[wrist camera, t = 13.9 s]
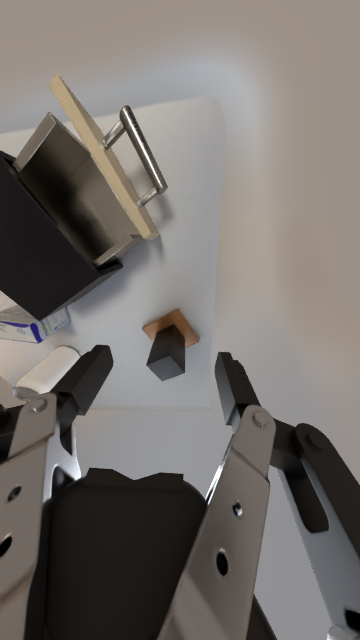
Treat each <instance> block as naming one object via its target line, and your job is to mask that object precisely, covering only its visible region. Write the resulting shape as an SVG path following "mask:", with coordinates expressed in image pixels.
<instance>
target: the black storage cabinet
mask: <svg viewBox="0 0 360 640" xmlns="http://www.w3.org/2000/svg"><path fill="white" fill-rule="evenodd" d="M15 160H16V158H15V157H13V156H11V155H9V154H7V153H5V152H3V151H0V290H1V291H2V292H3V293H4V294H6V295H7V296H8V297H9V298H11V299H12V300H13V301H14V302H16V303H17V304H18V305H19V306H21V307H22V308H23V309H24V310H26V311H27V312H28V313H29V314H30V315H32V316H33V317H34V318H35V319H37V320H38V321H39V322H40V321H42V320H43V319H45V318H47V317H49V316H50V315H52V314H54V313H56V312H58V311H59V310H61V309H63V308H65V307H67V306H68V305H70V304H72V303H74V302H75V301H77V300H78V299H80V298H81V297H82V296H84V295H85V294H86V293H88V292H89V291H91V290H92V289H93V288H95V287H96V286H98V285H99V284H100V283H102V282H103V281H105V280H106V279H107V278H109V277H110V276H112V275H113V274H114V273H116V272H117V271H119V270H120V269H121V268H123V266H122V264H121V263H120V262H119V260H117V261H116V262H115V263H113V264H112V265H111V266H109V267H108V268H106V269H103V270H100V271H98V270H97V269H96V268H95V267H94V265H93V264H92V263H91V262H90V261H89V259H88V258H87V257H86V256H85V255H84V253H83V252H82V251H81V250H80V249H79V248H78V246H77V245H76V244H75V243H74V242H73V240H72V239H71V238H70V237H69V236H68V234H67V233H66V232H65V231H64V230H63V228H62V227H61V226H60V225H59V224H58V222H57V221H56V220H55V219H54V218H53V216H52V215H51V214H50V213H49V212H48V211H47V209H46V208H45V207H44V206H43V205H42V203H41V202H40V201H39V200H38V199H37V197H36V196H35V195H34V194H33V193H32V191H31V190H30V189H29V188H28V187H27V185H26V184H25V183H24V182H23V181H22V179H21V178H20V177H19V176H18V175H17V174H16V172H15V171H14V170H13V169H12V168H11V165H12V164H13V162H14V161H15Z"/></svg>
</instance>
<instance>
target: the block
mask: <svg viewBox="0 0 360 640" xmlns="http://www.w3.org/2000/svg"><path fill="white" fill-rule="evenodd" d="M146 366H147V367H148V368H149V369H150V370H151V371H152V372H153V373H154V374H155V375H156V376H157V377H158V378H159V379H160V380H161V381H165V380H167V379H170V378H173V377H176V376H178V375H181V374H184V373H185V338H184V337H183V335H182V334H181V332H180V331H179V330H178V328H177V327H176V325H175V324H173V325H171V326H169V327H166V328H164V329H162V330H160V331H158V332H157V333H156V336H155V339H154V342H153V345H152V348H151V352H150V355H149V358H148V361H147V364H146Z"/></svg>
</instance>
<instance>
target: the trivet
mask: <svg viewBox="0 0 360 640" xmlns="http://www.w3.org/2000/svg"><path fill="white" fill-rule="evenodd" d="M173 324H175V325H176V327H177V328H178V330H179V331H180V332H181V334H182V335H183V337H184V338H185V348H186V347H189V346H191V345H193V344H196V343H198V342H199V339H198V337H197V336H196V334H195V333H194V331H193V330H192V328H191V327H190V325H189V324H188V322H187V321H186V319H185V317H184V316H183V314H182V313H181V311H180V310H179V308H178V309H176V310H174V311H172V312H170V313H168V314H166V315H165V316H163V317H161V318H159V319H157V320H155V321H153V322H151V323H149V324H147V325H146V326H144V327H143V328H142V330H143V331H144V332H145V333H146V334H147V335H148V337H149V338H150V339H151V340H152V341H153V342H154V339H155V336H156V333H157V332H158V331H160V330H162V329H164V328H166V327H169V326H171V325H173Z"/></svg>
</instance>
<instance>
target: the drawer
mask: <svg viewBox="0 0 360 640" xmlns="http://www.w3.org/2000/svg"><path fill="white" fill-rule="evenodd" d="M49 87H50V88H51V90H52V91H53V93H54V95H55V96H56V98H57V100H58V101H59V103H60V104H61V106H62V108H63V109H64V111H65V112H66V114H67V116H68V117H69V119H70V121H71V122H72V124H73V125H74V127H75V129H76V130H77V132H78V133H79V135H80V137H81V138H82V140H83V141H84V143H85V145H86V146H87V147H86V146H85V145H84V144H83V143H82V142H81V141H80V140H79V139H78V138H77V137H76V136H74V135H73V134H72V133H71V132H70V131H69V130H68V129H67V128H66V127H65V126H64V125H63V124H62V123H61V122H60V121H58V120H57V119H56V118H55V117H54V116H53V115H52V114H51V113H50V112H49V113H48V114H47V115H46V117H45V118H44V120H43V121H42V122H41V124H40V125H39V127H38V128H37V129H36V131H35V132H34V134H33V135H32V137H31V138H30V140H29V141H28V142H27V144H26V145H25V147H24V148H23V150H22V151H21V152H20V154H19V155H18V157H17V158H16V160H15V161H14V162H13V164H12V165H11V168H12V169H13V170H14V171H15V172H16V174H17V175H18V176H19V177H20V178H21V179H22V181H23V182H24V183H25V184H26V185H27V187H28V188H29V189H30V190H31V191H32V193H33V194H34V195H35V196H36V197H37V199H38V200H39V201H40V202H41V203H42V205H43V206H44V207H45V208H46V209H47V211H48V212H49V213H50V214H51V215H52V216H53V218H54V219H55V220H56V221H57V222H58V224H59V225H60V226H61V227H62V228H63V230H64V231H65V232H66V233H67V234H68V236H69V237H70V238H71V239H72V240H73V242H74V243H75V244H76V245H77V246H78V248H79V249H80V250H81V251H82V252H83V253H84V255H85V256H86V257H87V258H88V259H89V261H90V262H91V263H92V264H93V265H94V267H95V268H96V269H97V270H98V271H100V270H103V269H106V268H108V267H109V266H111V265H112V264H113V263H115V262H116V261H117V260H119V259H120V258H121V257H123V256H124V255H125V254H127V253H128V252H129V251H131V250H132V249H133V248H135V247H136V246H137V245H139V244H140V243H141V242H143V241H144V240H145V239H155V238H157V237H158V236H159V235H160V234H159V232H158V230H157V229H156V227H155V225H154V223H153V221H152V220H151V218H150V216H149V214H148V213H147V211H146V209H145V207H144V205H145V204H146V203H147V202H148V201H149V200H151V199H152V198H153V197H154V196H155V195H157V194H159V195H160V194H162V193H164V192H165V191H166V190H167V188H168V186H167V184H166V182H165V180H164V178H163V175H162V173H161V171H160V169H159V167H158V165H157V163H156V161H155V159H154V156H153V154H152V152H151V150H150V148H149V146H148V144H147V142H146V140H145V137H144V135H143V133H142V131H141V129H140V127H139V125H138V123H137V121H136V119H135V116H134V114H133V112H132V110H131V108H130V107H129V106H125V107H123V108H122V110H121V111H120V120H119V122H118V123H117V124H116V125H115V126H114V127H113V128H112V130H111V131H110V132H109V133H108V134H107V135H106V136H105V137H104V135H103V133H102V131H101V129H100V128H99V127H98V125H97V124H96V123H95V121H94V120H93V119H92V118H91V116H90V115H89V114H88V112H87V111H86V110H85V109H84V107H83V106H82V105H81V103H80V102H79V101H78V100H77V99H76V97H75V96H74V94H73V93H72V92H71V90H70V89H69V88H68V86H67V85H66V84H65V83H64V81H63V80H62V79H61V77H60V76H59V75H58V74H56V76H55V77H54V79H53V80H52V82H51V83H50V85H49ZM125 131H126V132H127V134H128V136H129V138H130V140H131V142H132V143H133V145H134V147H135V149H136V151H137V153H138V155H139V157H140V159H141V161H142V163H143V165H144V167H145V169H146V171H147V173H148V175H149V177H150V179H151V181H152V183H153V185H154V188H152V189H151V190H150V191H149V192H148V193H147V194H145V195H144V196H143V197H142V198H141V199H140V198H139V197H138V195H137V193H136V191H135V190H134V188H133V186H132V184H131V183H130V181H129V179H128V177H127V175H126V174H125V172H124V170H123V168H122V167H121V165H120V163H119V161H118V160H117V158H116V156H115V154H114V152H113V151H112V149H111V146H112V145H113V144H114V143H115V142H116V141H117V140H118V138H119V137H120V136H121V135H122V134H123V133H124V132H125Z"/></svg>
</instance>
